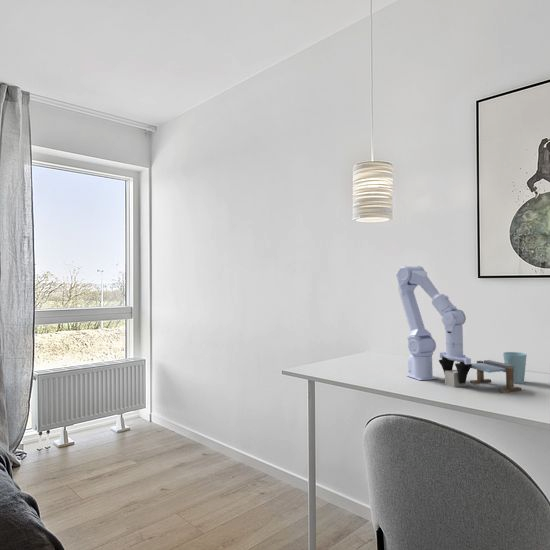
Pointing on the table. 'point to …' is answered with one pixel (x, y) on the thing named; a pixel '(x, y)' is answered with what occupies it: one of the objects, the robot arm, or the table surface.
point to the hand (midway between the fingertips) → (455, 380)
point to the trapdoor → (491, 366)
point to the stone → (452, 378)
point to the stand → (509, 380)
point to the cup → (516, 364)
